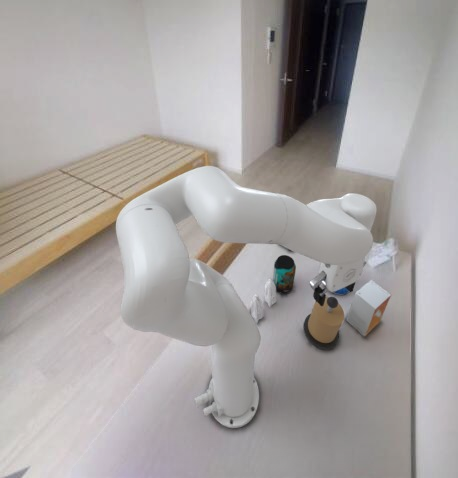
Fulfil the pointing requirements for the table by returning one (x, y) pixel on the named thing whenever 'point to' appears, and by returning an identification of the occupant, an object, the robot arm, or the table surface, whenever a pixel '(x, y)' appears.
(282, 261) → the beverage can
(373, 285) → the small box
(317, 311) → the towel holder
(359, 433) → the table surface
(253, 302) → the shaker set
